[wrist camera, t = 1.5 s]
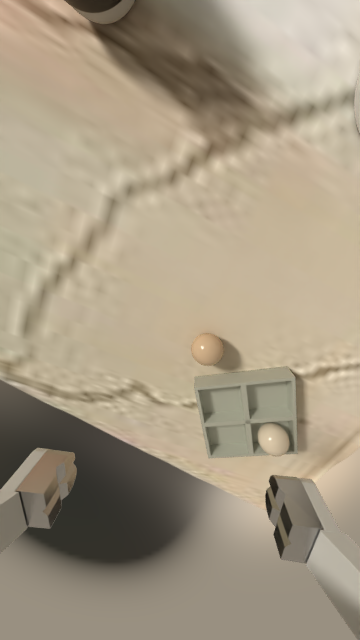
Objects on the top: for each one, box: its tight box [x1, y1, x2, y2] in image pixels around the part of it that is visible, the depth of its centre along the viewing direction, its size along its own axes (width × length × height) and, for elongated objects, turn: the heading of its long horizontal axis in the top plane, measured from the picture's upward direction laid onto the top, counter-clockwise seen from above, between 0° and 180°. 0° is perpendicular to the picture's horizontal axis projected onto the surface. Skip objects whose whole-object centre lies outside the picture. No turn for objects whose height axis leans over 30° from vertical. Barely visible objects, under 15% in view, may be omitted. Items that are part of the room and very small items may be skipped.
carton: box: [194, 367, 298, 458], centre depth 35 cm, size 15×15×3 cm
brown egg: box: [191, 333, 224, 366], centre depth 31 cm, size 5×5×5 cm
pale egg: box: [257, 422, 290, 456], centre depth 34 cm, size 5×5×5 cm
